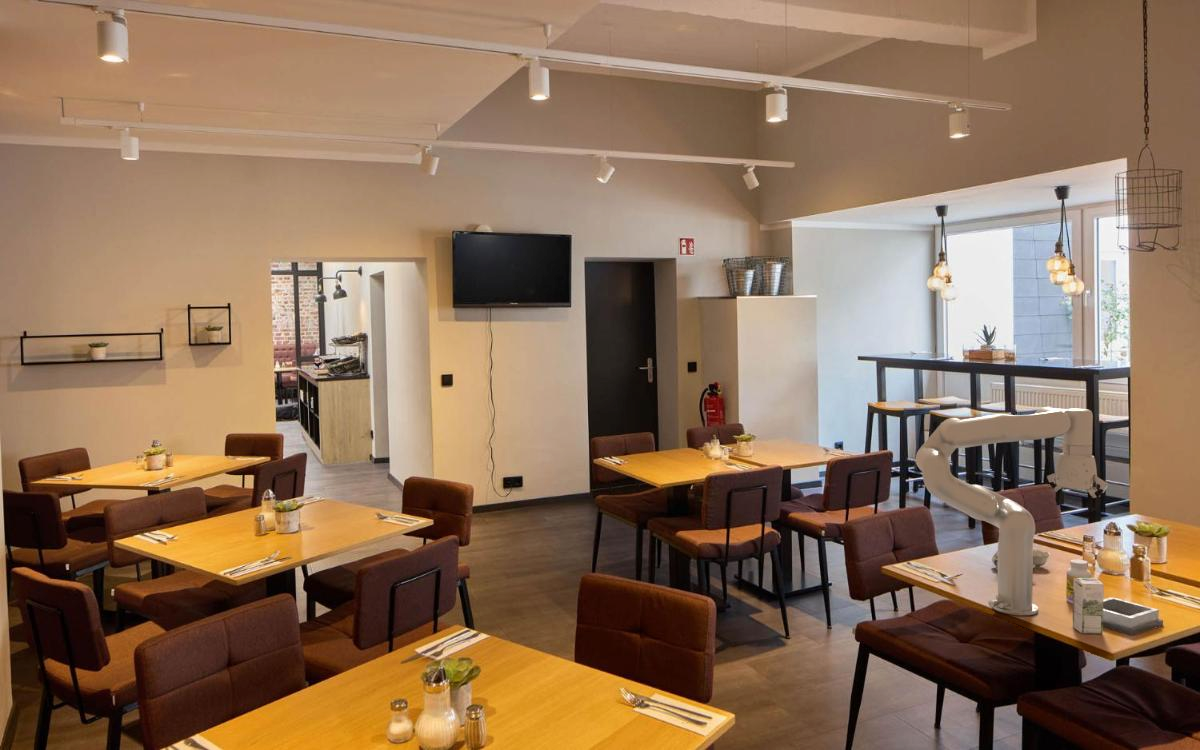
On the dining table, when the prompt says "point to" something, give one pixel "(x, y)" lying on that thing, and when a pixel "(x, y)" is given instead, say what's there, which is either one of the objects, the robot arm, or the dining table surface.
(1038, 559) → the chinaware
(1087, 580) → the syrup box
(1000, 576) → the robot arm
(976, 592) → the dining table surface
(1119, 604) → the pocket base
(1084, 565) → the supplement bottle
